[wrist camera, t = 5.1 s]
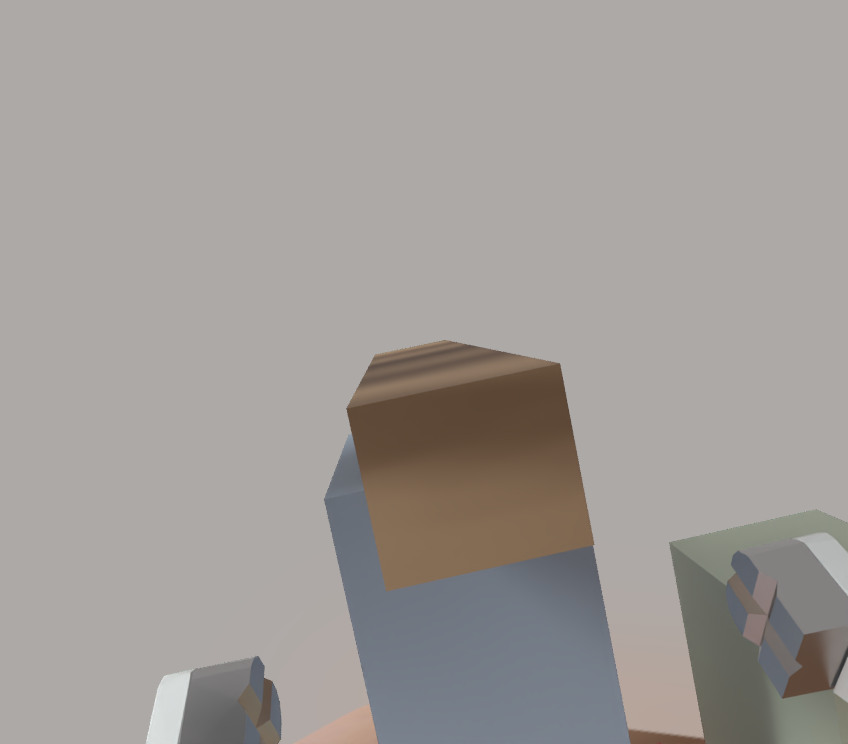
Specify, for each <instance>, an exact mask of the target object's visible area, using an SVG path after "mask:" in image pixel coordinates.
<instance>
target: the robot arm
mask: <svg viewBox="0 0 848 744" xmlns="http://www.w3.org/2000/svg"><path fill="white" fill-rule="evenodd" d="M731 566H732V567H733V569H734V570H735V572H736V573H735V574H734V575H733V576H732V577H731V578H730V579H729V580H728V581H727V587H726V599H727V603H728V608H729V611H730V613H731V616H732V618H733V620H734V622H735V624H736V626H737V627H738V629H739V631H740V632H741V634H742V636H743V637H745V638H747V639H748V640H750V641H752V642H753V643H755V644H756V645H758V646H759V655H758V661H759V663H760V665H761V666H762V668H763V669H764V671H765V673H766V674H767V676H768V677H769V679H770V680H771V682H772V684H773V685H774V687H775V688H776V690H777V692H778V693H779V695H780V696H781V698H782V699H784V698H789V697H794V696H799V695H804V694H809V693H814V692H819V691H824V690H829V689H834V690H833V692H834V693H835V694H837V695H838V696H839V697H841V698H842V699H843V700H845V701H846V702H847V703H848V553H847V552H846V551H845V549H844V548H843V547H842V546H841V545H840V544H839V543H838V542H837V540H836V539H835V538H834V537H833V536H831V535H829V534H827V533H815V534H811V535H806V536H802V537H798V538H793V539H792V538H790V539H786V540H781V541H777V542H773V543H769V544H764V545H760V546H756V547H752V548H748V549H743V550H739V551H737V552H736V553H735V554H734V555H733V557H732V562H731ZM280 740H281V711H280V701H279V698H278V694H277V690H276V688H275V686H274V684H273V682H272V681H270V680H268V679H265V678H264V665H263V663H262V662H261V660H260V658H259V657H258V656H255V657H251V658H246V659H241V660H237V661H232V662H227V663H222V664H217V665H213V666H208V667H203V668H199V669H198V668H196V669H191V670H187V671H182V672H178V673H174V674H169V675H165V676H164V677H163V679H162V681H161V683H160V684H159V687H158V689H157V694H156V699H155V703H154V708H153V713H152V717H151V722H150V727H149V731H148V736H147V741H146V744H278V743H279V741H280Z"/></svg>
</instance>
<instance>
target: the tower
mask: <svg viewBox="0 0 848 744" xmlns="http://www.w3.org/2000/svg"><path fill="white" fill-rule="evenodd" d="M324 501H325V505H326V510H327V514H328V519H329V523H330V528H331V532H332V537H333V541H334V546H335V550H336V555H337V559H338V564H339V568H340V573H341V577H342V582H343V586H344V591H345V595H346V599H347V604H348V608H349V613H350V618H351V622H352V626H353V631H354V636H355V640H356V644H357V649H358V654H359V658H360V662H361V667H362V671H363V676H364V680H365V685H366V689H367V694H368V698H369V703H370V707H371V712H372V716H373V721H374V725H375V730H376V734H377V739H378V743H379V744H630V738H629V733H628V728H627V723H626V717H625V712H624V707H623V702H622V696H621V691H620V686H619V681H618V675H617V670H616V664H615V659H614V654H613V649H612V643H611V638H610V633H609V628H608V622H607V617H606V612H605V606H604V601H603V596H602V591H601V585H600V580H599V575H598V570H597V564H596V559H595V554H594V548H593V545H592V546H588V547H583V548H579V549H574V550H570V551H565V552H561V553H556V554H552V555H547V556H543V557H538V558H534V559H529V560H525V561H520V562H516V563H512V564H507V565H503V566H498V567H494V568H489V569H485V570H480V571H476V572H471V573H467V574H462V575H458V576H453V577H449V578H444V579H440V580H435V581H431V582H426V583H422V584H418V585H413V586H409V587H404V588H400V589H395V590H391V591H386V588H385V583H384V579H383V574H382V570H381V565H380V560H379V556H378V551H377V547H376V542H375V537H374V533H373V528H372V524H371V519H370V514H369V510H368V505H367V501H366V496H365V491H364V487H363V482H362V478H361V473H360V468H359V464H358V459H357V455H356V450H355V445H354V441H353V436H352V434H351V435H348V438H347V441H346V443H345V446H344V448H343V451H342V454H341V456H340V459H339V462H338V464H337V467H336V470H335V472H334V475H333V477H332V480H331V483H330V485H329V488H328V490H327V493H326V496H325V498H324Z"/></svg>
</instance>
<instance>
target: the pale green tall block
mask: <svg viewBox="0 0 848 744" xmlns="http://www.w3.org/2000/svg"><path fill="white" fill-rule="evenodd" d="M815 533H827V534H829V535H831V536H833V537H834V538H835V539H836V540H837V542H838V543H839V544H840V545H841V546H842V547H843V548H844V549H845V551H846V552H847V553H848V523H847V522H845V521H842V520H840V519H838V518H835V517H833V516H831V515H828V514H826V513H823V512H821V511H819V510H812V511H807V512H803V513H798V514H794V515H789V516H785V517H780V518H776V519H771V520H767V521H763V522H758V523H754V524H750V525H745V526H740V527H736V528H731V529H727V530H722V531H718V532H714V533H709V534H705V535H700V536H696V537H691V538H687V539H682V540H678V541H673V542H670V543H669V544H670V549H671V554H672V559H673V566H674V571H675V576H676V582H677V588H678V594H679V599H680V605H681V610H682V616H683V622H684V627H685V633H686V638H687V644H688V649H689V655H690V660H691V666H692V671H693V677H694V683H695V687H696V694H697V699H698V705H699V710H700V716H701V722H702V727H703V733H704V738H705V744H848V703H847V702H846V701H845V700H843V699H842V698H841V697H839V696H838V695H837V694H835V693H834V692H833V690H834V689H829V690H824V691H819V692H814V693H809V694H804V695H799V696H794V697H789V698H784V699H782V698H781V696H780V695H779V693H778V692H777V690H776V688H775V687H774V685H773V684H772V682H771V680H770V679H769V677H768V676H767V674H766V673H765V671H764V669H763V668H762V666H761V665H760V663H759V661H758V655H759V646H758V645H756V644H755V643H753V642H752V641H750V640H748V639H747V638H745V637H743V636H742V634H741V632H740V631H739V629H738V627H737V626H736V624H735V622H734V620H733V618H732V616H731V613H730V611H729V608H728V603H727V599H726V587H727V581H728V580H729V579H730V578H731V577H732V576H733V575H734V574H735V573H736V572H735V570H734V569H733V567H732V566H731V562H732V557H733V555H734V554H735V553H736V552H737V551H739V550H743V549H748V548H752V547H756V546H760V545H764V544H769V543H773V542H777V541H781V540H786V539H790V538H792V539H793V538H798V537H802V536H806V535H811V534H815Z"/></svg>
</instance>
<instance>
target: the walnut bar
mask: <svg viewBox="0 0 848 744" xmlns="http://www.w3.org/2000/svg"><path fill="white" fill-rule="evenodd" d="M347 413H348V417H349V422H350V427H351V431H352V436H353V441H354V445H355V450H356V455H357V459H358V464H359V468H360V473H361V478H362V482H363V487H364V491H365V496H366V501H367V505H368V510H369V514H370V519H371V524H372V528H373V533H374V537H375V542H376V547H377V551H378V556H379V560H380V565H381V570H382V574H383V579H384V583H385V588H386V591H391V590H395V589H400V588H404V587H409V586H413V585H418V584H422V583H426V582H431V581H435V580H440V579H444V578H449V577H453V576H458V575H462V574H467V573H471V572H476V571H480V570H485V569H489V568H494V567H498V566H503V565H507V564H512V563H516V562H520V561H525V560H529V559H534V558H538V557H543V556H547V555H552V554H556V553H561V552H565V551H570V550H574V549H579V548H583V547H588V546H592V545H594V541H593V535H592V530H591V525H590V520H589V514H588V509H587V504H586V499H585V493H584V488H583V483H582V477H581V472H580V467H579V461H578V456H577V451H576V446H575V440H574V436H573V430H572V425H571V419H570V414H569V409H568V404H567V398H566V393H565V387H564V382H563V377H562V372H561V366H560V363H555V362H550V361H545V360H540V359H535V358H530V357H525V356H521V355H516V354H510V353H506V352H501V351H496V350H491V349H486V348H481V347H476V346H471V345H467V344H462V343H457V342H452V341H446V340H443V341H439V342H434V343H429V344H424V345H419V346H415V347H410V348H405V349H400V350H396V351H391V352H386V353H381V354H376V355H375V356H374V358H373V360H372V362H371V364H370V366H369V367H368V369H367V371H366V373H365V375H364V377H363V379H362V381H361V382H360V384H359V386H358V388H357V390H356V392H355V393H354V395H353V397H352V399H351V401H350V403H349V405H348V407H347Z"/></svg>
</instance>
